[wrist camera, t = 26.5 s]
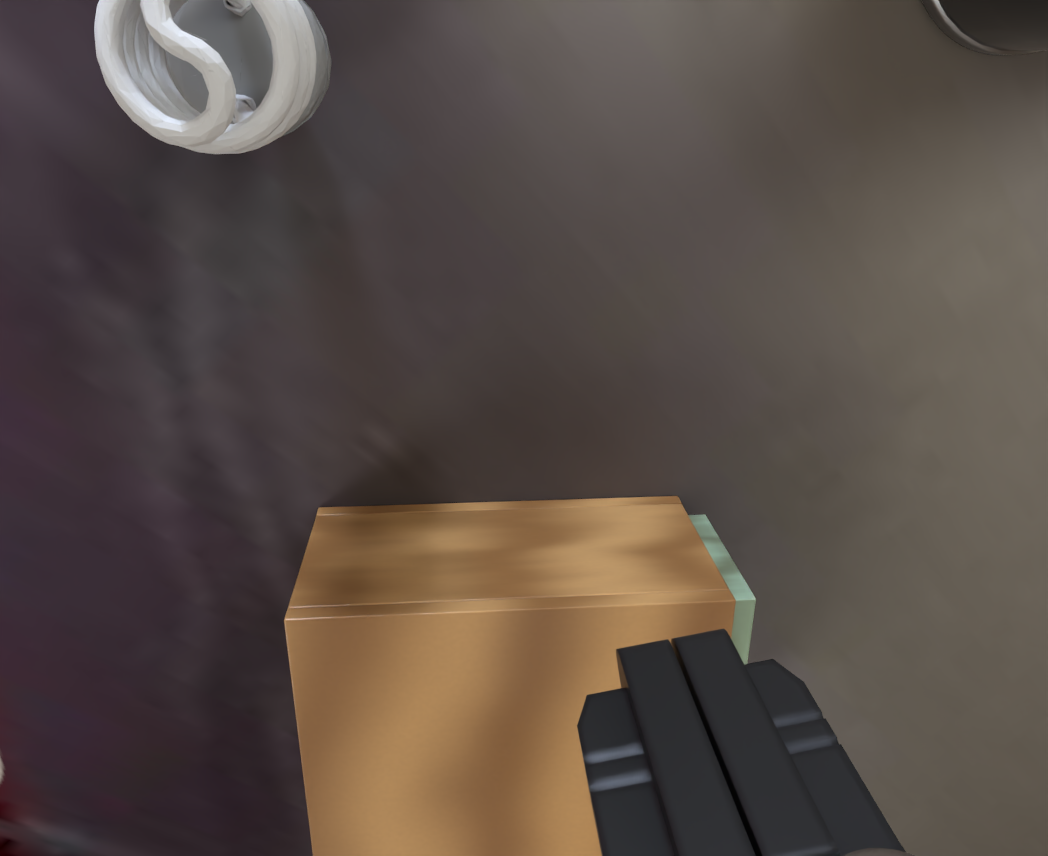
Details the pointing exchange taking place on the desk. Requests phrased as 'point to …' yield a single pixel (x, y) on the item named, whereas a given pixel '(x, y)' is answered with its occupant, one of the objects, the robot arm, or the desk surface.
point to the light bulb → (213, 68)
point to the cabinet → (476, 663)
